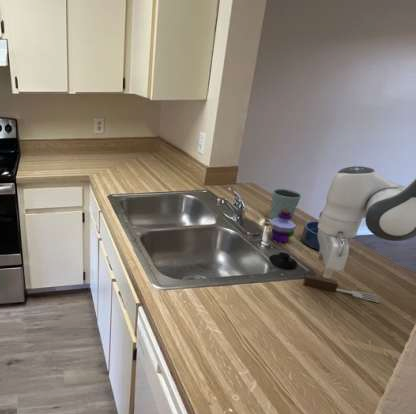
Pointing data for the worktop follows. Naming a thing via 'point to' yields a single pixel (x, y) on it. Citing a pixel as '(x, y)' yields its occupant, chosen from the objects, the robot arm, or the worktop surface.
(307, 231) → the bowl
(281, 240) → the potion bottle
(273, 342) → the worktop surface
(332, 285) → the fork
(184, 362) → the worktop surface
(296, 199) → the grey-green tapered cup
